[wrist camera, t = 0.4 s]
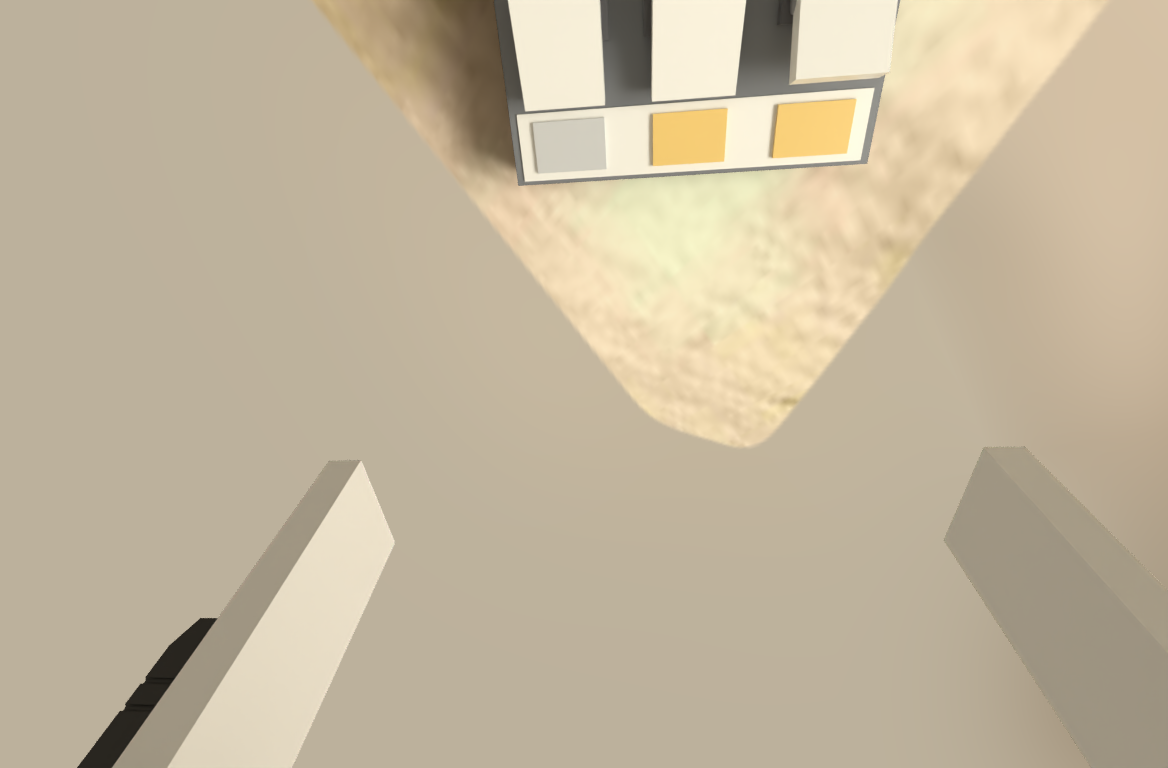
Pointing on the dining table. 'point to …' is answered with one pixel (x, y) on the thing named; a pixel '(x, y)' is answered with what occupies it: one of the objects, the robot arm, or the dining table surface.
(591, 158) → the panel
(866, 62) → the switch
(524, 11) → the switch
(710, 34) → the switch
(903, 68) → the dining table surface
